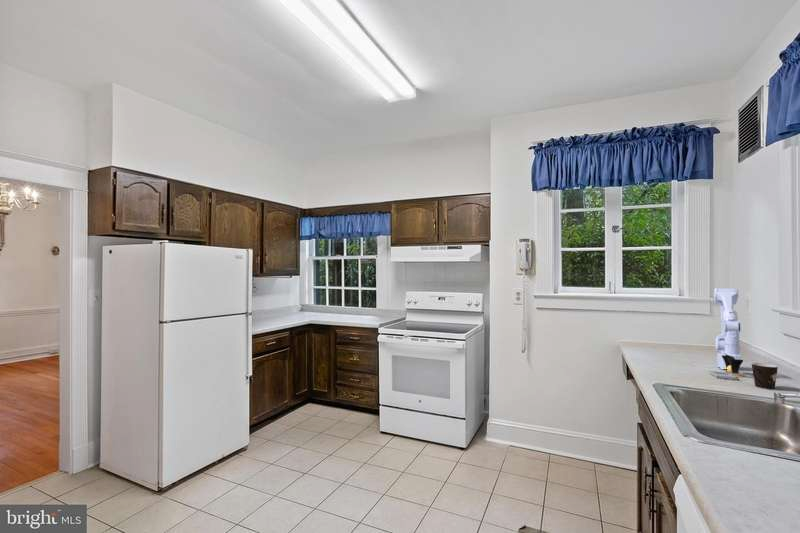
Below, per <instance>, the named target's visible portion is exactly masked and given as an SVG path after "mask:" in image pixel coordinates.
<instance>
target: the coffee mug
mask: <svg viewBox="0 0 800 533" xmlns="http://www.w3.org/2000/svg"><path fill="white" fill-rule="evenodd" d="M778 368H779V367H778V365H775V364H770V363H761V362H751V369H752V375H753V382H754V386H755V387H756V388H759V389H765V390H775V389H776V382H777V375H778Z"/></svg>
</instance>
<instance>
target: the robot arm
mask: <svg viewBox="0 0 800 533" xmlns="http://www.w3.org/2000/svg"><path fill="white" fill-rule="evenodd" d="M713 298H714V304H716V305H718V306H719V309H720V310H719V311H720V326H721V328H720V329H721V333H720V334H718V335H717V336H716V337H715V339H714V340H715V341H714V342H715V343H714V347H715V350H716V351H717V354H716V365H718V366H719V367H721V369H720V370H723V369H727V367H728V366H729V365H731V370H732V373H738V372H741V371H740V368H741V366H742V364H743V362H744V360H743V359H741V353H740V352H741V344H740V334H741V330H742V326H741V324H742V323H741V321H740V320H739V318H738V313H737V311H736V310H734V305H736V304H737V302H738V298H739V289H738V288H726V287H725V288H724V287H723V288H719V287H715V288H714V289H713Z"/></svg>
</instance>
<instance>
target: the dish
mask: <svg viewBox="0 0 800 533" xmlns="http://www.w3.org/2000/svg"><path fill="white" fill-rule="evenodd" d="M721 372H726V373H729V372H728V371H727V370H721ZM731 374H733V375H734V376H736V377H738V378H744V373H742V372H741V371H738V373H731Z"/></svg>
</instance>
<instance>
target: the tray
mask: <svg viewBox="0 0 800 533" xmlns="http://www.w3.org/2000/svg"><path fill="white" fill-rule="evenodd" d="M711 374H712V375H713V377H714V376H715V377H716V378H715V377H714V378H715V379H717V378H719V379H718V380H728V381H729V380H730V381H739V377H736V376H734V375H733V374H731V373H726V372H722V371H715V370H714V371H713V370H709V375H711ZM712 375H711V376H712Z"/></svg>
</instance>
